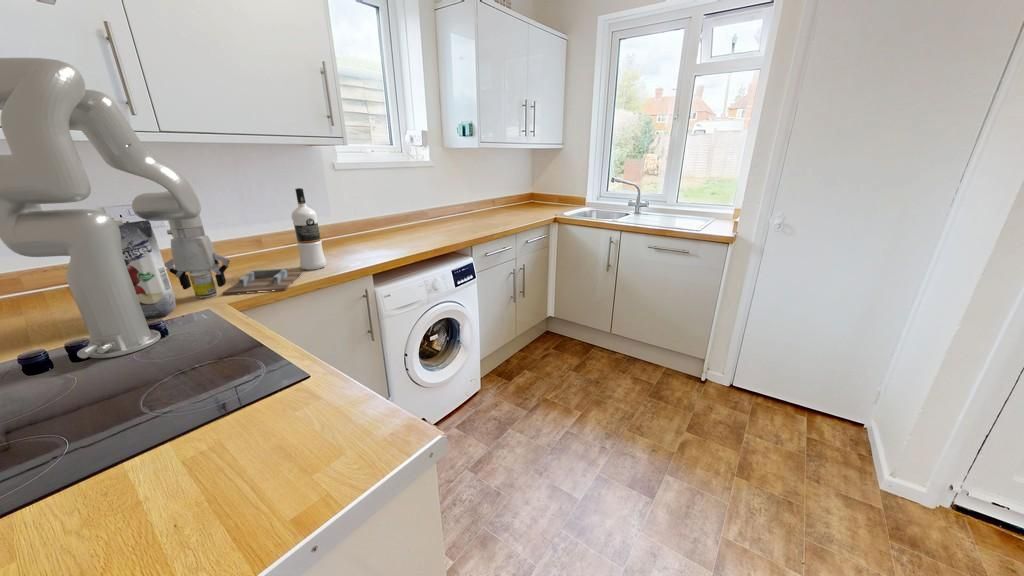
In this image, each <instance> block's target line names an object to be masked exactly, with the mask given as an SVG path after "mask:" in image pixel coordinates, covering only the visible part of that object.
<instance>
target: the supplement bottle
mask: <svg viewBox="0 0 1024 576" xmlns="http://www.w3.org/2000/svg"><path fill="white" fill-rule="evenodd" d="M188 274H189V275H188V277H189V280H190V283H191V286H192V289H193V291H194V294H195V297H196V298H198V299H207V298H211V297H214V296H216V295H217V294H218V290H217V289H218V288H217V286H216V283H215V278H214V274H213V271H212V270H211V269H210V270H204V271H190V272H189V273H188Z"/></svg>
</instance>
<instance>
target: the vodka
mask: <svg viewBox="0 0 1024 576" xmlns="http://www.w3.org/2000/svg"><path fill="white" fill-rule="evenodd" d="M294 191H295V194H296V200H297V206H298V207H297V208H295V209H294V210H293V211H292V212H291V219H292V222H293V223H292V224H293V227H294V231H295V235H296V241H297V247H298V252H299V261H300V262H299V266H300V268H301V269H302V270H304V269H305V270H304V271H314V269H317V270H321V269H323V267H324V268H325V267H326V266H327V265H328V262H327V259H326V257H325V255H324V254H325V253H324V249H323V245H322V240H321V233H320V230H319V229H320V228H319V224H318V223H319V221H318V216H317V215H318V214H317V212H316V210H314V209H312V208H311V207H308V206H307V203H306V198H305V193H304V188H300V187H297V188H295V189H294ZM320 268H321V269H320Z"/></svg>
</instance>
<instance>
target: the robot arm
mask: <svg viewBox="0 0 1024 576" xmlns="http://www.w3.org/2000/svg"><path fill="white" fill-rule="evenodd" d="M0 111H1V113H0V127H1V129H2V132H3V135H4V136H3V137H4V138H5V140H6V143H7V145H8V148H9V150H10V153H11V154H0V241H2V243H3V244H4V245H5V246H6V247H7V248H8V250H9V249H10V250H11V252H13V253H15V254H18V255H20V256H23V257H30V258H45V257H47V258H48V257H70V259H69V262H68V265H67V268H66V271H65V278H66V282H67V285H68V287H69V289H70V292H71V294H72V297H73V299H74V300H75V304H76V306H77V307H78V311H79V314H80V315H81V318H82V321H83V323H84V325H85V327H86V330H87V332H88V334H89V336H90V337H88V338H87V341H88V344H87V346H85V347H83V348H81V349H79V350H78V351H76V352H77V353H76V355H77V357H79V358H80V359H86V358H91V359H108V358H109V359H110V358H115V357H120V356H124V355H128V354H132V353H135V352H137V351H140V350H143V349H145V348H149V347H151V346H152V345H154V344H155V343H156V342H158V341H159V340H160V339H161V337H162V336H161V332H160V331H159V330H155V329H150V328H149V324H148V322H147V319H145V316H144V313H143V311H142V308H141V305H140V302H139V300H138V297H137V294H136V291H135V289H134V286H133V283H132V280H131V278H130V275H129V272H128V270H127V267H126V264H125V260H124V257H123V252H122V244H121V234H120V229H119V226H118V224H117V223H116V221H115V220H114V219H115V218H113V217H112V216H110V215H109V214H107V213H105V212H103V211H100V210H96V209H88V208H87V209H86V208H70V209H68V208H67V209H65V208H64V209H52V210H51V209H48V210H46V209H45V210H43V208H42V206H41V205H49V204H51V205H52V204H54V205H55V204H67V203H68V204H70V203H76V202H77V203H79V202H81V201H84V200H86V199H88V198H89V197H90V195H91V193H92V187H91V183H90V180H89V177H88V174H87V172H86V169H85V167H84V164H83V162H82V160H81V157H80V155H79V151H78V150H77V148H76V146H75V143H74V141H73V137H72V134H71V131H80V132H81V133H83V135H85V138H86V139H88V142H90V144H92V146H93V147H94V149H95V150H96V152H97V153H98V154H99V155H100V157H101V158H102V160H103V161H104V162H105V163H106V164H107V166H109V167H111V168H113V169H115V170H119V171H121V172H125V173H127V174H130V175H134V176H138V177H141V178H144V179H146V180H150V181H152V182H154V183H156V184H157V185H160V186H162V188H163V187H164V189H166V190H167V191H163V192H162V191H160V192H146V193H141V194H138V195H137V196H135V197H134V198H133V200H132V201H131V207H132V211H133V213H134V214H135V215H136V216H137V217H139V218H140V219H142V220H143V221H149V222H162V221H163V222H164V221H168V225H169V228H170V229H167V231H166V233H167V235H171V237H172V238H171V239H170V250H171V257H172V259H170V260H168V261H166V262H164V265H165V268H166V270H169V273H171V274H173V275H175V277H176V278H178V280H179V283H180V286H181V287H182V289H183V290H188V289H189V288H191V287H192V282H191V279H190V276H189V275H188V274H186V273H188V272H189V273H190V272H191V271H204V270H211V271H212V272H213V273H215V276H214V277H215V279H216V280H215V281H216V284H217V287H218V288H222V287H224V286H225V285H226V282H227V281H226V276H225V273H226V270H227V269H228V268H229V265H230V261H231V259H230V258H228V257H225V256H222V255H219V254H217V251H216V249H215V246H214V244H213V242H212V240H211V239H210V236H209V235H206V232H205V229H204V225H203V222H202V219H201V215H200V214H201V210H202V207H201V203H200V200H199V197H198V196H197V194H196V192H195V190H194V189H193V187H192V186H191V184H190V182H189V181H188V180H187V178H186V177H185V176H184V175H183V174H181V173H180V172H179V171H178V170H176V169H175V168H173V167H172V166H170V165H169V164H167V163H166V162H164V160H161V159H160V158H158V157H157V156H154V155H152V154H151V153H150V152H149V151H148V150H147V149H146V147H145V146H144V144H143V142H142V141H141V140H140V138H139V137H138V134H137V133H136V132H135V130H134V129H133V127H132V126H131V124H130V123H129V121H128V119H127V118H126V117H125V115H124V114H123V112H122V111H121V109H120V108H119V106H118V105H117V103H116V102H115V101H114V100H113V98H111V96H109V95H108V94H106V93H104V92H101V91H99V90H94V89H86V84H85V79H84V77H83V75H82V74H81V72H80V71H79V70H78V69H77V68H76V67H75V66H73V65H72V64H70V63H68V62H64V61H62V60H57V59H53V58H52V59H51V58H44V57H43V58H42V57H0ZM220 262H221V263H222V265H220Z"/></svg>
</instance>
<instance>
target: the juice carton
mask: <svg viewBox="0 0 1024 576" xmlns="http://www.w3.org/2000/svg"><path fill="white" fill-rule="evenodd" d="M113 219H114V220H115V221H116V223H117V224H118V226H119V229H120V234H121V244H122V252H123V257H124V260H125V264H126V267H127V270H128V272H129V275H130V278H131V280H132V283H133V286H134V289H135V291H136V294H137V297H138V300H139V302H140V305H141V308H142V311H143V313H144V316H145V319H146V320H151V319H152V320H153V319H159V318H165V317H167V316H168V315H170V313H172V312H173V311H174V310H175V309H176V306H177V305H176V296H175V293H174V292H175V291H174V289H173V286H172V284H171V280H170V277H169V274H168V272H167V267H166V266H165V265H164V264H165V262H164V259H163V256H162V254H161V249H160V247H159V245H158V240H157V238H156V236H155V233H154V230H153V228H152V224H151V221H149V220H138V221H131V222H130V221H129V222H124V221H123V219H122V218H113Z"/></svg>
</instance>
